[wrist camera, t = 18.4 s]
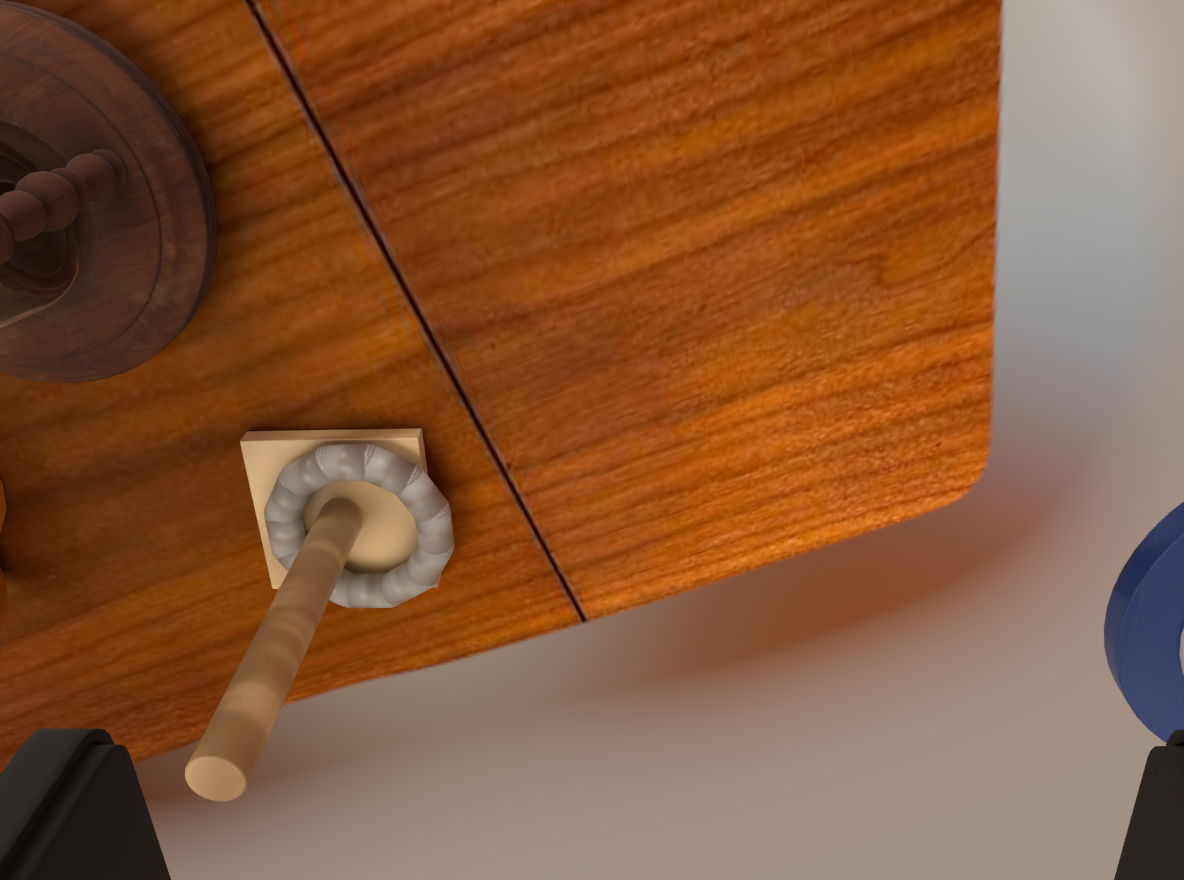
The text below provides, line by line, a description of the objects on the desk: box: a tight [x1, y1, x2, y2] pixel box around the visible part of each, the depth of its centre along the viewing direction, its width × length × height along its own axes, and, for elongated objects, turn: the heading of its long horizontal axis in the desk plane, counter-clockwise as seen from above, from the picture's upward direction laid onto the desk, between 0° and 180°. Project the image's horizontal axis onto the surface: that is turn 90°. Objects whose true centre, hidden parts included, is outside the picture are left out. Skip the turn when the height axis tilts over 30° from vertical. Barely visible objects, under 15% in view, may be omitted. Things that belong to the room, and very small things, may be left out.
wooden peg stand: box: [185, 428, 441, 801], centre depth 41 cm, size 8×8×17 cm
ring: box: [264, 444, 455, 608], centre depth 47 cm, size 8×8×2 cm
